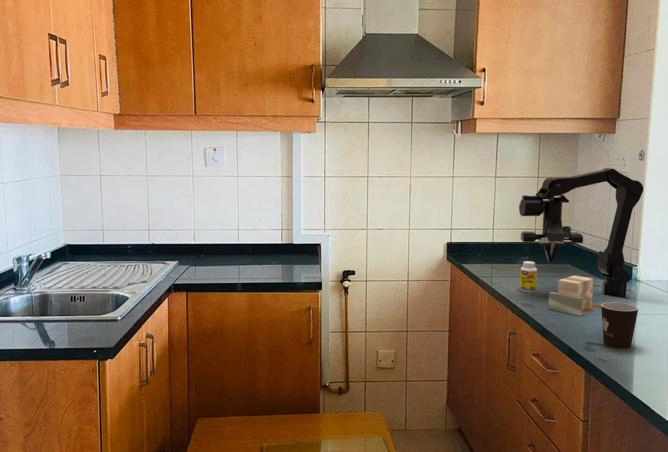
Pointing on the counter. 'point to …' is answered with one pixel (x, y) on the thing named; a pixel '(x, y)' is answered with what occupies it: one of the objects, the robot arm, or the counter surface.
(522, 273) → the supplement bottle
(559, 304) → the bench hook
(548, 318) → the counter surface
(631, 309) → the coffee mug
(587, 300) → the block
